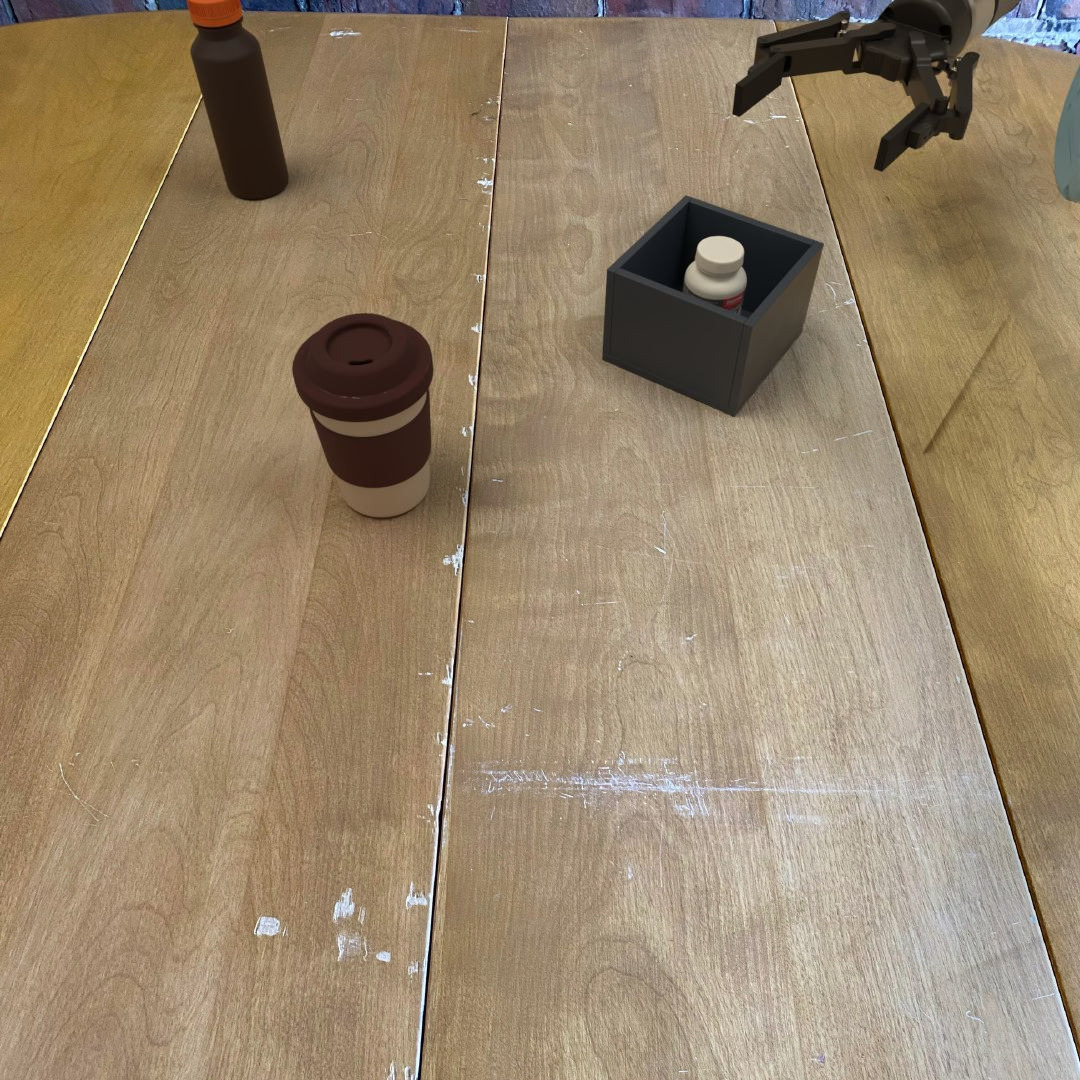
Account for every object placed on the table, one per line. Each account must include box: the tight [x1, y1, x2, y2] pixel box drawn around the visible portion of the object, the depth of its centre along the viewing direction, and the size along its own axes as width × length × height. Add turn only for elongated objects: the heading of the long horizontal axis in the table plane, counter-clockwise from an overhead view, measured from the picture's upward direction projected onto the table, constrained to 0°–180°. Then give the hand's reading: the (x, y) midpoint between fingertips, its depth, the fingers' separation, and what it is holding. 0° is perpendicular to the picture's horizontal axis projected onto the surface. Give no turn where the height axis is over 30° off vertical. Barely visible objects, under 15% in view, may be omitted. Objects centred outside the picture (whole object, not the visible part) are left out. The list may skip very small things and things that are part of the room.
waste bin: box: [601, 195, 825, 417], centre depth 88 cm, size 14×14×10 cm
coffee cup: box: [291, 312, 434, 518], centre depth 75 cm, size 10×10×15 cm
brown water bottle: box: [186, 0, 290, 200], centre depth 102 cm, size 7×7×20 cm
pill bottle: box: [683, 236, 747, 315], centre depth 87 cm, size 5×5×10 cm
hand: (806, 127), depth 81 cm, fingers open, 13 cm apart
